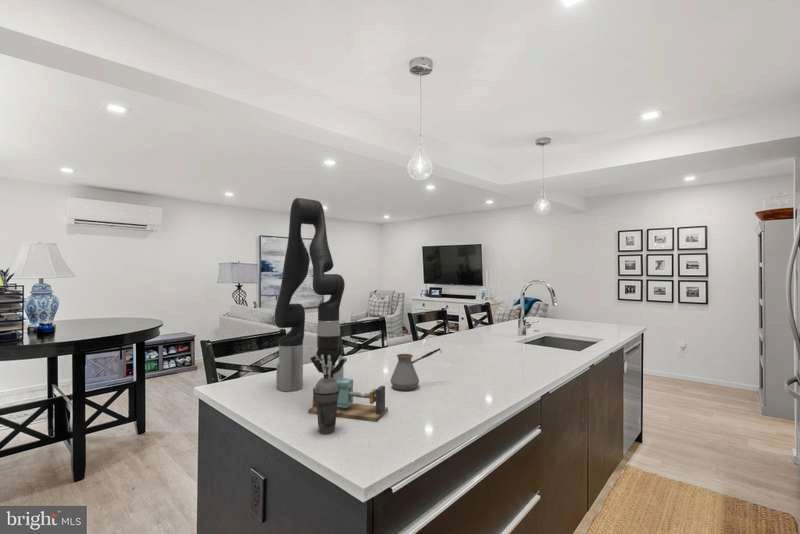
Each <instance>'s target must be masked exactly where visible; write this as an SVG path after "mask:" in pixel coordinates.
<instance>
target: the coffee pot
mask: <svg viewBox="0 0 800 534" xmlns="http://www.w3.org/2000/svg"><path fill="white" fill-rule="evenodd" d="M437 352H440V353H443V350H442V349H441V348H440V347H439V348H437V349H434V350H433V351H428V352H427V353H425V354H423V355H422V356H420V357H418V358H416V359H414V360H412V359H413V354H410V353H400V354H398V353H397V355H396V357H397V364H396V365H395V368H394V371H393V373H392V375H391V378H390V384H391V385H392V386H393V387H394V389H396V390H399V391H412V390H414V389H415V388H416V387H417V386H418V385H419V382H420V379H419V377H418V374H417V371H416V370H415V366H414V364H415V363H416V362H417V363H418V361H420V360H423V359H425V358H427V357H430V356H431V355H434V354H435V353H437Z"/></svg>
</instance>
